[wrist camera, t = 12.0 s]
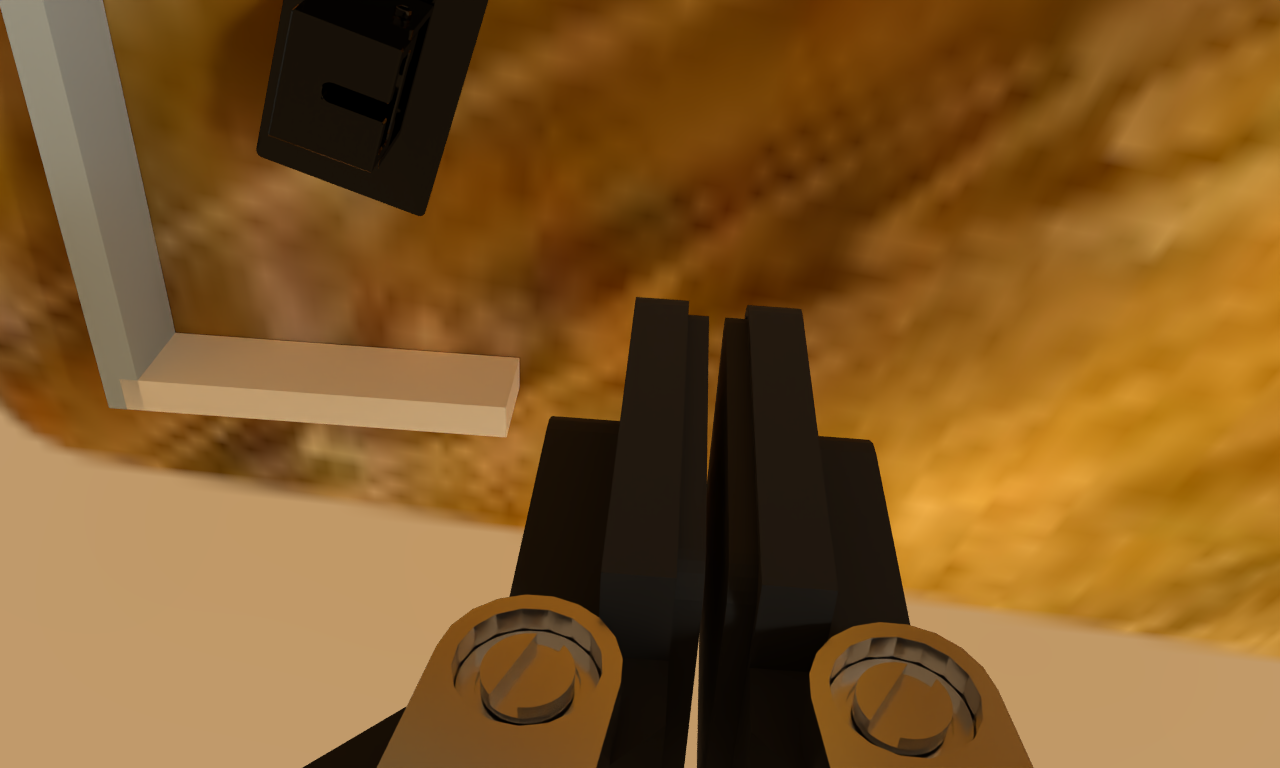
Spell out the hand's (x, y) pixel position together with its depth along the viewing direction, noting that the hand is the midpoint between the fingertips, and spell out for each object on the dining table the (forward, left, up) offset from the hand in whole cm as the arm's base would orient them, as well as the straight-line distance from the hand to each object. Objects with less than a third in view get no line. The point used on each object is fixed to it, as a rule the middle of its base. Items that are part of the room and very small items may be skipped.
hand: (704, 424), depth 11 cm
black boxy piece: (+10, +3, -23) cm, 25 cm away
